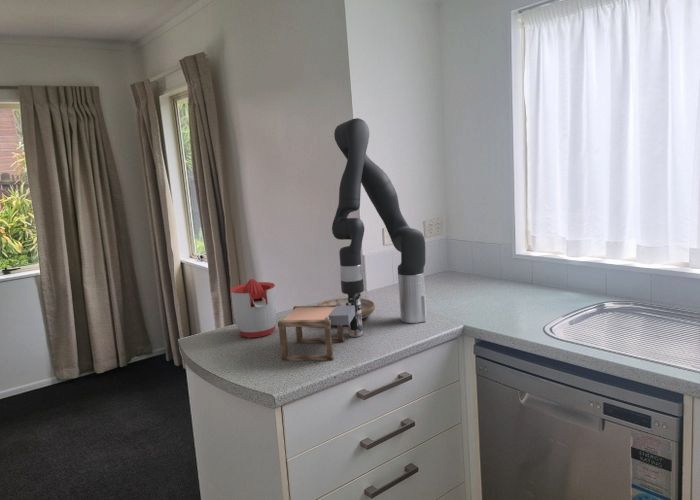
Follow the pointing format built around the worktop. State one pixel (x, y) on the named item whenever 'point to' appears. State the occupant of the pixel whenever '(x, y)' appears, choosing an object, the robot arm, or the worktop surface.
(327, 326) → the frame
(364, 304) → the ceramic bowl
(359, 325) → the beer can
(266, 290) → the citrus juicer
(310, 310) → the trapdoor
